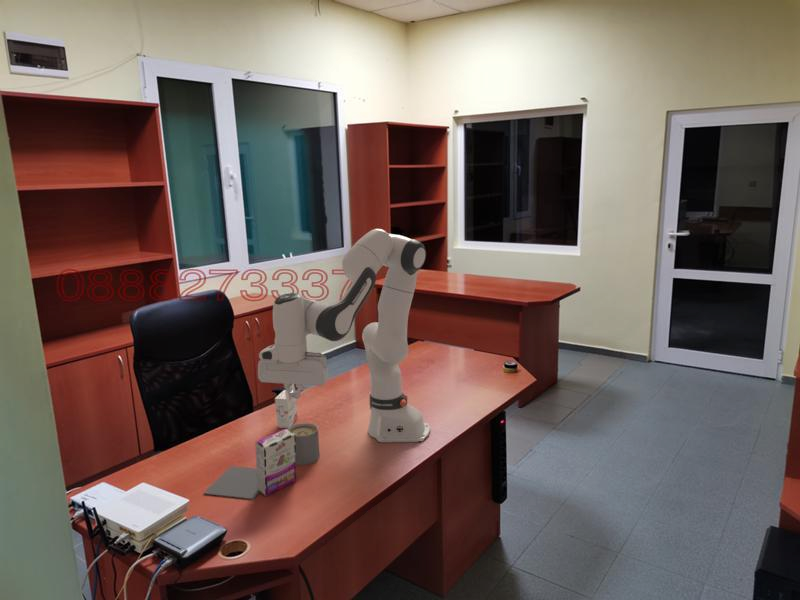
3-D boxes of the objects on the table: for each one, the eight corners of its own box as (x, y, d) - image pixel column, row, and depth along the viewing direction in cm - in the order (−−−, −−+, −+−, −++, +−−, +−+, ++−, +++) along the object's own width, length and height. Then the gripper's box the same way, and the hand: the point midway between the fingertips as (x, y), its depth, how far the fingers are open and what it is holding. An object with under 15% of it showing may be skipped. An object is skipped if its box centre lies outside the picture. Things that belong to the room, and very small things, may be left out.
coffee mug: (307, 467, 180) (305, 438, 178) (283, 460, 185) (280, 432, 182) (331, 449, 191) (329, 422, 189) (308, 443, 196) (306, 416, 194)
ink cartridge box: (285, 418, 217) (283, 382, 214) (297, 418, 216) (295, 382, 213) (276, 427, 209) (273, 390, 206) (289, 428, 208) (286, 391, 205)
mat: (277, 471, 178) (276, 470, 178) (253, 499, 163) (253, 498, 163) (231, 467, 181) (230, 466, 181) (203, 494, 166) (203, 493, 166)
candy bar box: (286, 474, 175) (286, 427, 170) (296, 481, 172) (296, 433, 167) (255, 489, 167) (254, 440, 162) (265, 497, 164) (265, 447, 159)
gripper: (330, 349, 159) (332, 395, 162) (263, 346, 164) (267, 391, 167) (322, 356, 153) (325, 404, 156) (253, 353, 158) (257, 399, 161)
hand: (294, 397), depth 161 cm, fingers closed
